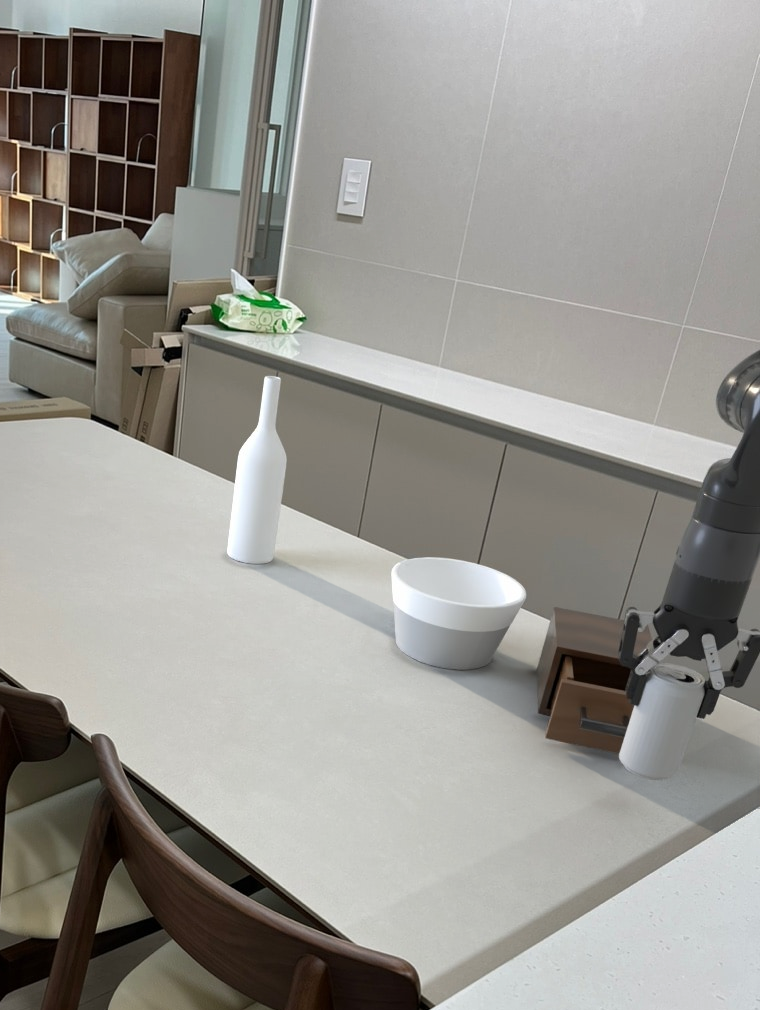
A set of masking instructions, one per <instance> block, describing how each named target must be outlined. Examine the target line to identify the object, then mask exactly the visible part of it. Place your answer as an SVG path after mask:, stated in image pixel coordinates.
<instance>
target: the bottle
mask: <svg viewBox="0 0 760 1010" xmlns="http://www.w3.org/2000/svg"><path fill="white" fill-rule="evenodd" d="M281 383H282V378H281V377H279V376H275V375H265V376H264V379H263V386H262V387H263V388H262V395H261V402H260V404H261V405H260V411H259V418H258V423H257V426H256V428H255V429H254V431H253V432H252V433H251V435H250V436H249V437H248V438H247V440H246V441H245V442H244V443H243V445H242V447H241V448H240V450H239V451H238V456H237V463H236V471H235V472H236V473H235V478H234V479H235V481H234V490H233V497H232V506H231V514H230V522H229V523H230V524H229V531H228V540H227V547H226V549H227V550H226V554H227V555H228V557H229V558H230V559H232V560H235V561H237V562H240V563H244V564H252V565H263V564H267V563H270V562H272V561H273V559H274V556H275V550H276V542H277V535H278V528H279V522H280V521H279V520H280V514H281V507H282V499H283V492H284V484H285V480H286V479H285V478H286V471H287V459H288V458H287V454H286V451H285V448H284V446H283V443H282V441H281V438H280V436H279V434H278V432H277V428H276V421H277V415H278V414H277V413H278V408H279V407H278V406H279V398H280V390H281V385H282V384H281Z"/></svg>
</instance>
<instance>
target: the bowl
mask: <svg viewBox="0 0 760 1010" xmlns="http://www.w3.org/2000/svg"><path fill="white" fill-rule="evenodd" d="M391 588H392V601H393V617H394V618H393V619H394V632H395V644H396V646H397V648H398V649H399V650H400V651H401V652H402V653H404V654H405V655H406V656H408V657H410V658H412V659H414V660H415V661H418V662H420V663H423V664H425V665H429V666H432V667H437V668H441V669H447V670H457V671H461V670H463V671H465V670H467V671H468V670H476V669H479V668H483V667H486V666H487V665H488V664H490V662H491V661H492V659H493V657H494V656H495V654H496V652H497V650H498V648H499V646H500V645H501V643H502V642H503V640H504V637H505V636H506V634H507V632H508V630H509V629H510V627H511V625H512V623H514V620H515V618H516V616H517V615H518V613H519V612H520V610H521V609H522V606H523V604H524V602H525V601H526V598H527V591H526V588H525V587H524V586H523V585H522V584H521V583H520V582H519V581H518V580H517V579H515V578H513V577H512V576H510V575H508V574H506V573H504V572H502V571H499V570H498V569H495V568H491V567H489V566H486V565H482V564H479V563H475V562H470V561H466V560H462V559H454V558H448V557H431V556H430V557H415V558H407V559H405V560H401V561H399V562H398V563H396V564H394V566H393V567H392V569H391Z"/></svg>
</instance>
